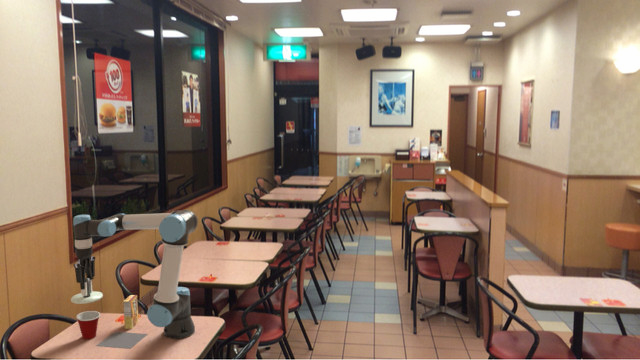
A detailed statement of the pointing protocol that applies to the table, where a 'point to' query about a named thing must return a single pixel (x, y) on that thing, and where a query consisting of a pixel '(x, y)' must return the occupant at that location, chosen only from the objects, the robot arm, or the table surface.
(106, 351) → the table surface
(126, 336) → the mat
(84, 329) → the plastic cup
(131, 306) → the candy box
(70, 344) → the table surface
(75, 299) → the lid
